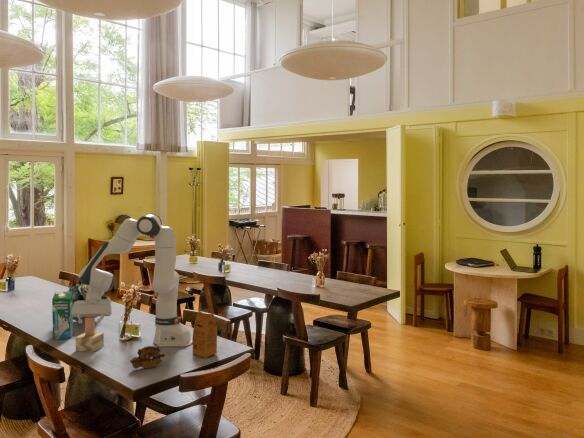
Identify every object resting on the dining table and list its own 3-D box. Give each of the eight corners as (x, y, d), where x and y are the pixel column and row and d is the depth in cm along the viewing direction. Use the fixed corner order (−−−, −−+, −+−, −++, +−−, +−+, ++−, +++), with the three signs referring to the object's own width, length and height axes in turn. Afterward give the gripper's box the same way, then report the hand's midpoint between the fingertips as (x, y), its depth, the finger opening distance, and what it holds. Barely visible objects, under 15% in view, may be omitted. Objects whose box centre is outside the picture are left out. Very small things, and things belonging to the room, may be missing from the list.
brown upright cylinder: (96, 333, 266) (96, 317, 265) (91, 336, 261) (91, 319, 261) (88, 333, 267) (87, 316, 266) (83, 336, 262) (82, 319, 261)
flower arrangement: (96, 328, 299) (96, 288, 298) (55, 327, 300) (54, 287, 298) (112, 317, 324) (111, 280, 323) (74, 316, 325) (73, 279, 323)
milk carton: (52, 339, 277) (52, 295, 276) (55, 335, 286) (55, 291, 284) (70, 338, 280) (69, 294, 278) (73, 333, 288) (72, 291, 287)
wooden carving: (132, 372, 231) (132, 351, 230) (129, 369, 235) (129, 348, 234) (166, 365, 241) (166, 345, 240) (163, 362, 245) (163, 342, 244)
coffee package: (204, 349, 266) (204, 308, 264) (219, 354, 257) (219, 312, 256) (189, 353, 258) (189, 311, 257) (204, 359, 250) (204, 316, 248)
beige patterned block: (103, 345, 269) (103, 332, 268) (93, 351, 259) (93, 338, 258) (86, 344, 270) (86, 331, 270) (75, 350, 260) (75, 337, 260)
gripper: (72, 297, 268) (67, 320, 259) (112, 296, 271) (108, 319, 262) (75, 303, 273) (70, 326, 264) (114, 303, 276) (110, 325, 267)
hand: (89, 322), depth 263 cm, fingers open, 8 cm apart
